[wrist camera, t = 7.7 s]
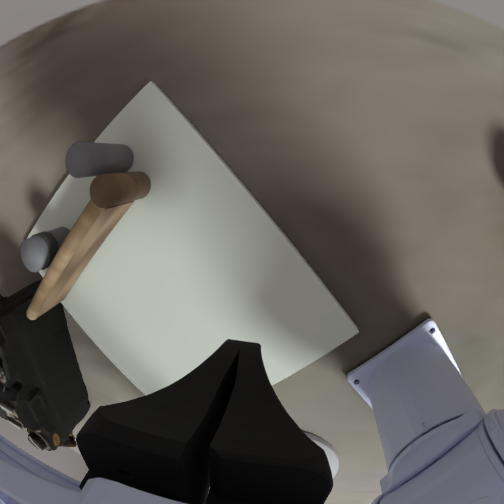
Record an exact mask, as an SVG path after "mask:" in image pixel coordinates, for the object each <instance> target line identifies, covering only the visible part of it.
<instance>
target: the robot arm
mask: <svg viewBox="0 0 504 504" xmlns="http://www.w3.org/2000/svg"><path fill="white" fill-rule="evenodd" d="M431 328H433V330H432V331H430V329H431ZM347 380H348V382H349V383H350V384H351V385H352V386H353V388H354V389H355V390H356V391H357V392H358V393H359V394H360V396H361V397H362V398H363V399H364V400H365V401H366V402H367V404H368V405H369V406H370V407H371V408H372V409H373V412H374V416H375V419H376V423H377V427H378V431H379V435H380V439H381V443H382V447H383V451H384V455H385V459H386V463H387V468H388V472H389V473H388V474H387V475H386V476H385V477H384V478H382V479H381V480H380V484H381V490H382V495H380V496H378V497H377V498H376V499H375V500H374V501H373V502H372V503H371V504H504V410H495V409H492V410H490V411H489V413H488V414H487V415H486V413H485V412H484V410H483V408H482V407H481V405H480V403H479V402H478V400H477V399H476V397H475V396H474V394H473V393H472V391H471V389H470V388H469V386H468V385H467V383H466V382H465V380H464V379H463V377H462V375H461V373H460V371H459V369H458V366H457V364H456V362H455V360H454V358H453V356H452V354H451V352H450V350H449V348H448V346H447V344H446V342H445V340H444V338H443V336H442V334H441V332H440V330H439V329H438V327H437V325H436V323H435V321H434V320H433V319H431V318H430V319H427V320H425V321H424V322H423V323H421V324H420V325H419V326H417V327H416V328H415V329H413V330H412V331H410V332H409V333H408V334H406V335H405V336H404V337H402V338H401V339H399V340H398V341H397V342H395V343H394V344H392V345H391V346H389V347H388V348H386V349H385V350H383V351H382V352H380V353H379V354H377V355H376V356H374V357H373V358H371V359H370V360H368V361H367V362H365V363H364V364H362V365H360V366H359V367H357V368H356V369H354V370H352V371H351V372H349V373H348V375H347ZM355 380H358V381H356V382H354V381H355ZM76 442H77V445H78V448H79V450H80V453H81V455H82V456H83V459H84V461H85V463H86V465H87V467H88V469H89V471H88V473H87V474H86V476H85V477H84V479H83V480H82V482H79V481H77V480H75V479H73V478H71V477H69V476H67V475H65V474H63V473H61V472H59V471H58V470H56V469H54V468H52V467H50V466H49V465H47V464H45V463H43V462H41V461H40V460H38V459H36V458H35V457H33V456H31V455H30V454H28V453H27V452H25V451H23V450H22V449H20V448H19V447H17V446H16V445H14V444H13V443H11V442H10V441H8V440H7V439H5V438H4V437H2V436H1V435H0V504H324V502H325V500H326V499H327V497H328V495H329V494H330V492H331V490H332V487H333V477H332V472H331V468H330V465H329V461H328V459H327V456H326V453H325V451H324V450H323V449H322V448H321V447H320V446H318V445H317V444H316V443H315V442H314V441H312V440H311V439H310V438H309V437H308V436H307V435H306V434H305V433H304V432H303V431H302V430H301V429H300V428H299V427H298V426H297V424H296V423H295V422H294V421H293V419H292V418H291V417H290V416H289V414H288V413H287V412H286V410H285V409H284V407H283V406H282V404H281V402H280V401H279V399H278V397H277V396H276V394H275V392H274V390H273V388H272V385H271V383H270V381H269V378H268V376H267V373H266V370H265V367H264V363H263V359H262V354H261V345H260V344H259V343H254V342H246V341H239V340H232V339H227V340H226V341H225V342H224V343H223V344H222V345H221V346H220V347H219V348H218V349H217V350H216V351H215V352H214V353H213V354H212V355H211V356H209V357H208V358H207V359H206V360H205V361H204V362H203V363H201V364H200V365H199V366H198V367H196V368H195V369H194V370H192V371H191V372H190V373H188V374H187V375H185V376H184V377H182V378H181V379H179V380H178V381H176V382H174V383H172V384H171V385H169V386H167V387H165V388H162V389H160V390H158V391H156V392H153V393H151V394H148V395H146V396H143V397H140V398H137V399H133V400H130V401H126V402H122V403H117V404H112V405H106V406H100V407H99V408H98V409H97V410H96V411H95V412H94V413H93V414H92V415H91V417H90V418H89V419H88V420H87V422H86V423H85V425H84V426H83V427H82V429H81V430H80V431H79V433H78V434H77V437H76ZM209 488H210V490H209ZM208 492H209V493H208ZM207 496H208V497H207Z"/></svg>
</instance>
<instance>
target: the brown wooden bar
mask: <svg viewBox="0 0 504 504" xmlns="http://www.w3.org/2000/svg"><path fill="white" fill-rule="evenodd" d="M150 188H151V182H150V179H149V177H148V176H147V175H146V174H145V173H144V172H140V171H137V172H124V173H112V174H101V175H98V176H96V177H95V178H94V179H93V181H92V182H91V185H90V197H91V200H90V201H89V203H88V204H87V206H86V207H85V209H84V210H83V212H82V213H81V215H80V216H79V218H78V219H77V221H76V222H75V224H74V226H73V227H72V229H71V230H70V232H69V234H68V235H67V237H66V238H65V240H64V242H63V243H62V245H61V247H60V249H59V250H58V252H57V254H56V256H55V257H54V259H53V261H52V263H51V264H50V266H49V268H48V270H47V272H46V274H45V275H44V277H43V279H42V281H41V283H40V285H39V287H38V289H37V291H36V293H35V295H34V297H33V299H32V301H31V303H30V305H29V307H28V309H27V317H28V318H29V319H30V320H35V319H37V318H38V317H39V316H41V315H42V314H44V313H45V312H47V311H48V310H50V309H51V308H52V307H54V306H55V305H57V304H58V303H60V302H61V301H63V300H64V299H65V298H66V296H67V295H68V293H69V292H70V290H71V288H72V287H73V285H74V284H75V282H76V281H77V279H78V278H79V276H80V275H81V273H82V272H83V270H84V269H85V267H86V266H87V265H88V263H89V262H90V260H91V259H92V257H93V256H94V255H95V253H96V252H97V250H98V249H99V247H100V246H101V245H102V243H103V242H104V241H105V239H106V238H107V237H108V235H109V234H110V232H111V231H112V230H113V228H114V227H115V226H116V225H117V223H118V222H119V221H120V219H121V218H122V217H123V215H124V214H125V213H126V212H127V210H128V209H129V208H130V206H131V205H132V204H133V203H134V200H138V199H142V198H144V197H146V196H147V195H148V193H149V191H150Z"/></svg>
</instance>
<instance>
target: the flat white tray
mask: <svg viewBox="0 0 504 504" xmlns="http://www.w3.org/2000/svg"><path fill="white" fill-rule="evenodd" d="M66 168H67V171H68V172H69V175H68V176H67V178H66V179H65V180H64V182H63V183H62V185H61V186H60V187H59V189H58V190H57V192H56V193H55V195H54V196H53V198H52V199H51V201H50V202H49V204H48V205H47V207H46V208H45V210H44V211H43V213H42V214H41V216H40V218H39V219H38V221H37V222H36V224H35V226H34V227H33V229H32V231H31V232H30V234H29V236H28V237H27V239H25V240H24V241H23V242H22V244H21V247H20V254H21V259H22V262H23V264H24V265H25V267H26V268H27V269H28V270H29V271H31V272H37V271H38V272H39V273H40V274H41V276H42V277H44V275H45V274H46V272H47V270H48V268H49V266H50V264H51V263H52V261H53V259H54V257H55V256H56V254H57V252H58V250H59V249H60V247H61V245H62V243H63V242H64V240H65V238H66V237H67V235H68V234H69V232H70V230H71V229H72V227H73V226H74V224H75V222H76V221H77V219H78V218H79V216H80V215H81V213H82V212H83V210H84V209H85V207H86V206H87V204H88V203H89V201H90V200H91V197H90V185H91V182H92V181H93V179H94V178H95V177H96V176H98V175H101V174H112V173H124V172H137V171H140V172H144V173H145V174H146V175H147V176H148V177H149V179H150V182H151V188H150V191H149V193H148V195H147V196H146V197H144V198H142V199H138V200H134V203H133V204H132V205H131V206H130V208H129V209H128V210H127V212H126V213H125V214H124V215H123V217H122V218H121V219H120V221H119V222H118V223H117V225H116V226H115V227H114V228H113V230H112V231H111V232H110V234H109V235H108V237H107V238H106V239H105V241H104V242H103V243H102V245H101V246H100V247H99V249H98V250H97V252H96V253H95V255H94V256H93V257H92V259H91V260H90V262H89V263H88V265H87V266H86V267H85V269H84V270H83V272H82V273H81V275H80V276H79V278H78V279H77V281H76V282H75V284H74V285H73V287H72V288H71V290H70V292H69V293H68V295H67V296H66V298H65V299H64V300H63V301H61V303H62V304H63V306H64V307H65V308H66V309H67V311H68V312H69V313H70V315H71V316H72V317H73V318H74V319H75V321H76V322H77V323H78V324H79V326H80V327H81V328H82V329H83V330H84V332H85V333H86V334H87V335H88V336H89V337H90V338H91V340H92V341H93V342H94V343H95V344H96V345H97V346H98V348H99V349H100V350H101V351H102V352H103V353H104V354H105V355H106V356H107V357H108V358H109V360H110V361H111V362H112V363H113V364H114V365H115V366H116V367H117V368H118V369H119V370H120V371H121V372H122V373H123V374H124V375H125V376H126V377H127V378H128V379H129V380H130V381H131V382H132V383H133V384H134V385H135V386H136V387H137V388H138V389H139V390H140V391H141V392H142V393H143V394H144V395H145V396H146V395H148V394H151V393H153V392H156V391H158V390H160V389H162V388H165V387H167V386H169V385H171V384H172V383H174V382H176V381H178V380H179V379H181V378H182V377H184V376H185V375H187V374H188V373H190V372H191V371H192V370H194V369H195V368H196V367H198V366H199V365H200V364H201V363H203V362H204V361H205V360H206V359H207V358H208V357H209V356H211V355H212V354H213V353H214V352H215V351H216V350H217V349H218V348H219V347H220V346H221V345H222V344H223V343H224V342H225V341H226V340H227V339H232V340H239V341H246V342H254V343H259V344H260V345H261V354H262V359H263V363H264V367H265V370H266V373H267V376H268V378H269V381H270V383H271V385H274V384H276V383H278V382H279V381H281V380H283V379H285V378H287V377H288V376H290V375H292V374H293V373H295V372H297V371H299V370H300V369H302V368H304V367H305V366H307V365H309V364H310V363H312V362H314V361H315V360H317V359H319V358H320V357H322V356H324V355H325V354H327V353H328V352H330V351H331V350H333V349H335V348H336V347H338V346H339V345H341V344H342V343H344V342H345V341H347V340H348V339H350V338H351V337H353V336H354V335H356V334H357V333H359V330H358V328H357V326H356V325H355V323H354V322H353V321H352V319H351V318H350V317H349V315H348V314H347V313H346V311H345V310H344V309H343V308H342V306H341V305H340V304H339V302H338V301H337V300H336V298H335V297H334V296H333V295H332V293H331V292H330V291H329V289H328V288H327V287H326V286H325V284H324V283H323V282H322V280H321V279H320V278H319V277H318V275H317V274H316V273H315V272H314V270H313V269H312V268H311V266H310V265H309V264H308V263H307V261H306V260H305V259H304V258H303V256H302V255H301V254H300V253H299V251H298V250H297V249H296V248H295V246H294V245H293V244H292V243H291V241H290V240H289V239H288V238H287V236H286V235H285V234H284V233H283V232H282V230H281V229H280V228H279V227H278V225H277V224H276V223H275V222H274V220H273V219H272V218H271V217H270V216H269V214H268V213H267V212H266V211H265V210H264V208H263V207H262V206H261V205H260V203H259V202H258V201H257V200H256V199H255V197H254V196H253V195H252V194H251V193H250V191H249V190H248V189H247V188H246V187H245V185H244V184H243V183H242V182H241V181H240V180H239V178H238V177H237V176H236V175H235V174H234V172H233V171H232V170H231V169H230V168H229V167H228V165H227V164H226V163H225V162H224V161H223V159H222V158H221V157H220V156H219V155H218V154H217V152H216V151H215V150H214V149H213V148H212V147H211V146H210V144H209V143H208V142H207V141H206V140H205V139H204V137H203V136H202V135H201V134H200V133H199V132H198V131H197V129H196V128H195V127H194V126H193V125H192V124H191V123H190V122H189V120H188V119H187V118H186V117H185V116H184V115H183V114H182V112H181V111H180V110H179V109H178V108H177V107H176V106H175V105H174V104H173V102H172V101H171V100H170V99H169V98H168V97H167V96H166V95H165V94H164V92H163V91H162V90H161V89H160V88H159V87H158V86H157V85H156V84H155V83H154V82H152V81H150V82H149V83H148V84H147V85H146V86H145V87H144V88H143V89H142V90H141V91H140V92H139V93H138V94H137V95H136V96H135V97H134V98H133V99H132V100H131V101H130V102H129V103H128V104H127V105H126V106H125V107H124V108H123V109H122V111H121V112H120V113H119V114H118V115H117V116H116V117H115V118H114V119H113V120H112V122H111V123H110V124H109V125H108V126H107V127H106V128H105V130H104V131H103V132H102V133H101V134H100V135H99V137H98V138H97V139H96V140H95V141H94V142H76V143H74V144H73V145H72V146H71V147H70V148H69V150H68V152H67V155H66Z"/></svg>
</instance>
